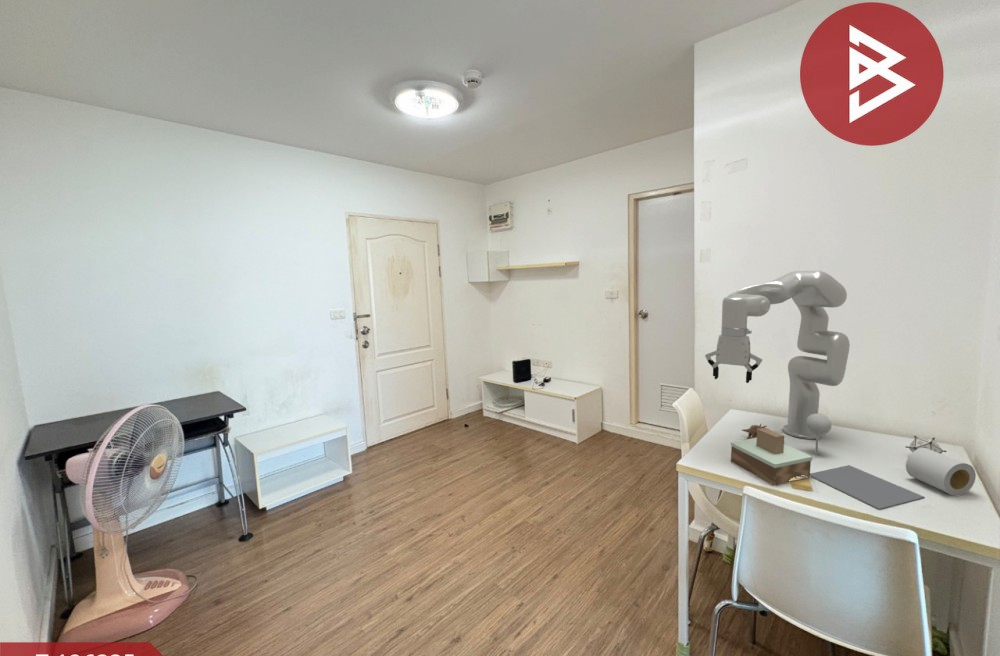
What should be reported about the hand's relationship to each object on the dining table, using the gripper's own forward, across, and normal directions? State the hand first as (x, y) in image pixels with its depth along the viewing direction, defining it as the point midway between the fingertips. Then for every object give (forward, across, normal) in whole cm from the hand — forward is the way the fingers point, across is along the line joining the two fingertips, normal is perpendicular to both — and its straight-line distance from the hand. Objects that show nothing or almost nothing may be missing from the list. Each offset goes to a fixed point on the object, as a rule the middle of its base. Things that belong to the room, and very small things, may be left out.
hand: (731, 380), depth 140 cm
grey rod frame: (+29, -54, -33) cm, 69 cm away
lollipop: (+29, -25, -19) cm, 43 cm away
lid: (+23, -12, +2) cm, 26 cm away
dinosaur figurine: (+29, -6, -18) cm, 35 cm away
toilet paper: (+29, -54, -13) cm, 62 cm away
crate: (+29, -12, +2) cm, 31 cm away
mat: (+29, -36, -1) cm, 46 cm away
